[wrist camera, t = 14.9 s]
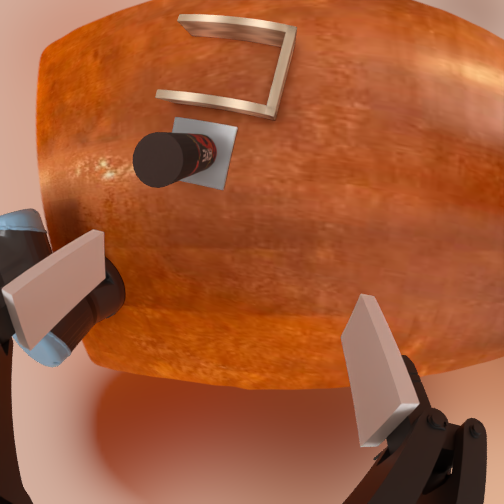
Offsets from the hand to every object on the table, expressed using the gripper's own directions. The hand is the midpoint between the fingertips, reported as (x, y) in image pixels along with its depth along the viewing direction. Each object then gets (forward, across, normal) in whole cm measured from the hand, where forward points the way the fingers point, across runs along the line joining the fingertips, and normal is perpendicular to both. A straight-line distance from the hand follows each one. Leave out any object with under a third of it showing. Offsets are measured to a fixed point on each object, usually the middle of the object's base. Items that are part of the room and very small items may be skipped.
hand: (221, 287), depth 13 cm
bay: (+31, -9, +17) cm, 37 cm away
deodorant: (+31, -11, +3) cm, 33 cm away
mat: (+31, -11, +3) cm, 33 cm away
